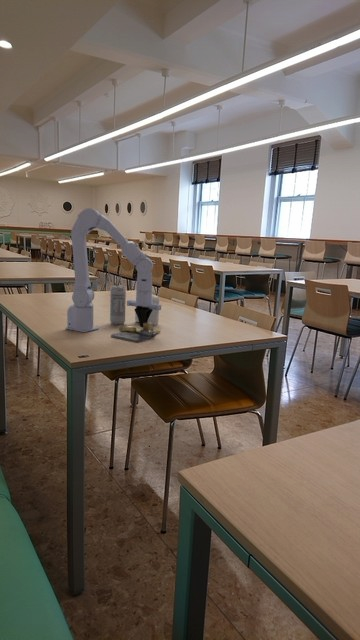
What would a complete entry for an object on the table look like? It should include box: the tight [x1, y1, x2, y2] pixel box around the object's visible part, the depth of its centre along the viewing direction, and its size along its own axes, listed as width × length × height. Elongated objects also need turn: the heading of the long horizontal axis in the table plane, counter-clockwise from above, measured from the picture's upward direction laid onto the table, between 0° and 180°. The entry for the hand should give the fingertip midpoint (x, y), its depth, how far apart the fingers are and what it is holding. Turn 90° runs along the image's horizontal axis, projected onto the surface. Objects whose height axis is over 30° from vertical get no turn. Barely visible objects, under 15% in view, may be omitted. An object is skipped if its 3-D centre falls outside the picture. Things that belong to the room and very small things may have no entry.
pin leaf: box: [110, 330, 157, 344], centre depth 146 cm, size 13×10×2 cm
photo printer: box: [134, 294, 160, 326], centre depth 170 cm, size 10×4×12 cm, turn 60°
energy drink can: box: [109, 285, 127, 326], centre depth 167 cm, size 6×6×15 cm
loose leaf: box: [118, 322, 161, 334], centre depth 154 cm, size 12×10×4 cm
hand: (143, 326), depth 155 cm, fingers closed
